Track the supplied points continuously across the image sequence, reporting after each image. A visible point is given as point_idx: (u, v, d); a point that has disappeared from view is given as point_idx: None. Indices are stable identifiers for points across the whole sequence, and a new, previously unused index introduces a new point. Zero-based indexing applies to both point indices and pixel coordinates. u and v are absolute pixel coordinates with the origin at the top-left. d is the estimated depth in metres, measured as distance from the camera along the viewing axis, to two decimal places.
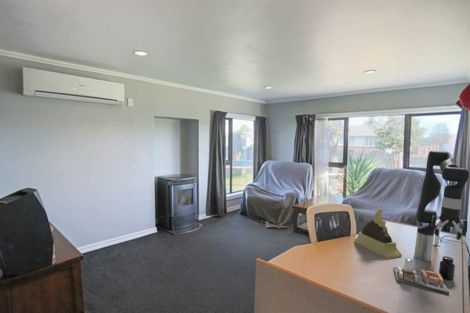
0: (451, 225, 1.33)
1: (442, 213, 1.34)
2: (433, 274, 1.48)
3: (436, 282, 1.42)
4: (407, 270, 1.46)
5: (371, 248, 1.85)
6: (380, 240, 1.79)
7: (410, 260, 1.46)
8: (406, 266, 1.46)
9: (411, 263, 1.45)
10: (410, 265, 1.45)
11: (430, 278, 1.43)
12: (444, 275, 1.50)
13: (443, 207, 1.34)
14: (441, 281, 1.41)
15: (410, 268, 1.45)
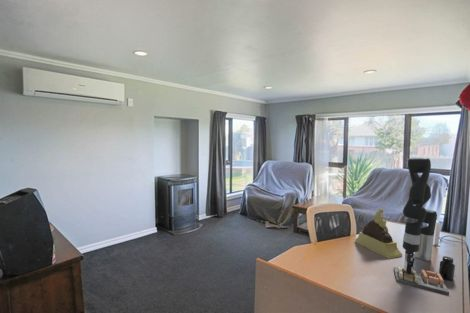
0: None
1: (414, 250, 1.43)
2: (433, 274, 1.48)
3: (436, 282, 1.42)
4: None
5: (372, 248, 1.85)
6: (381, 240, 1.79)
7: None
8: (406, 266, 1.46)
9: None
10: None
11: (430, 278, 1.43)
12: (444, 275, 1.50)
13: (415, 245, 1.42)
14: (441, 281, 1.41)
15: None
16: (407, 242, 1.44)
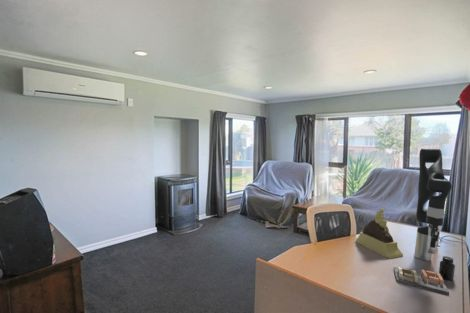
0: None
1: (439, 224, 1.40)
2: (433, 274, 1.48)
3: (436, 282, 1.42)
4: None
5: (372, 248, 1.85)
6: (381, 240, 1.79)
7: None
8: (430, 241, 1.44)
9: None
10: None
11: (430, 278, 1.43)
12: (444, 275, 1.50)
13: (440, 218, 1.40)
14: (441, 281, 1.41)
15: None
16: (431, 216, 1.42)
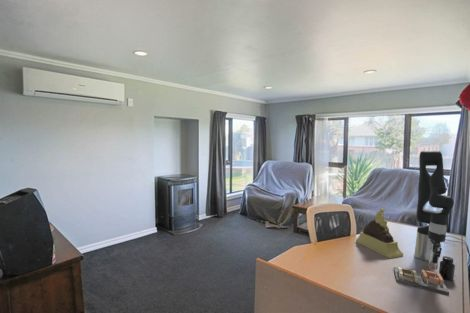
0: None
1: (441, 240, 1.40)
2: (433, 274, 1.48)
3: (436, 282, 1.42)
4: None
5: (373, 248, 1.86)
6: (382, 240, 1.80)
7: None
8: (432, 256, 1.44)
9: None
10: None
11: (430, 278, 1.43)
12: (444, 275, 1.50)
13: (442, 234, 1.40)
14: (441, 281, 1.41)
15: None
16: (433, 232, 1.42)
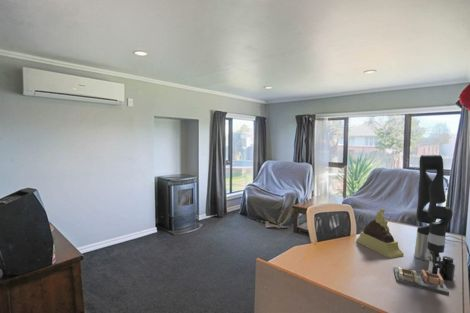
0: None
1: (440, 251, 1.41)
2: None
3: (436, 282, 1.42)
4: (432, 273, 1.44)
5: (373, 247, 1.86)
6: (382, 240, 1.80)
7: None
8: (431, 269, 1.45)
9: None
10: None
11: (430, 278, 1.43)
12: (444, 275, 1.50)
13: (441, 245, 1.41)
14: (441, 281, 1.41)
15: None
16: (432, 243, 1.43)
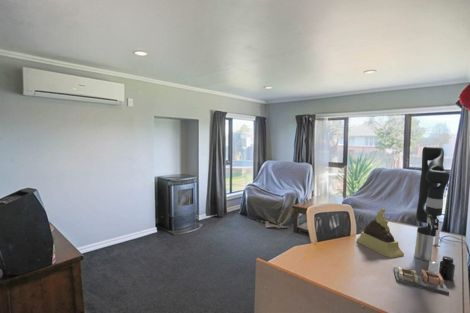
0: None
1: (438, 214, 1.45)
2: None
3: (436, 282, 1.42)
4: (432, 273, 1.44)
5: (373, 247, 1.86)
6: (382, 239, 1.80)
7: (435, 263, 1.45)
8: (431, 269, 1.45)
9: (436, 266, 1.43)
10: (435, 267, 1.43)
11: (430, 278, 1.43)
12: (444, 275, 1.50)
13: (439, 208, 1.44)
14: (441, 281, 1.41)
15: (435, 271, 1.44)
16: (430, 206, 1.46)
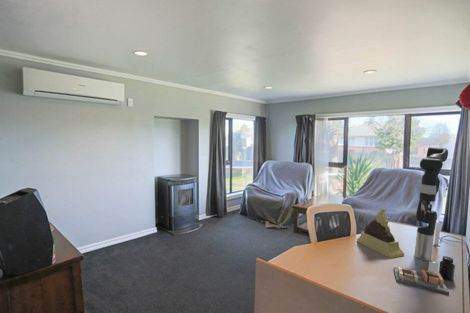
0: None
1: (431, 200, 1.51)
2: None
3: (436, 282, 1.42)
4: (432, 273, 1.44)
5: (374, 247, 1.86)
6: (383, 239, 1.80)
7: (435, 263, 1.45)
8: (431, 269, 1.45)
9: (436, 266, 1.43)
10: (435, 267, 1.43)
11: (430, 278, 1.43)
12: (444, 275, 1.50)
13: (432, 194, 1.51)
14: (441, 281, 1.41)
15: (435, 271, 1.44)
16: (424, 193, 1.53)
